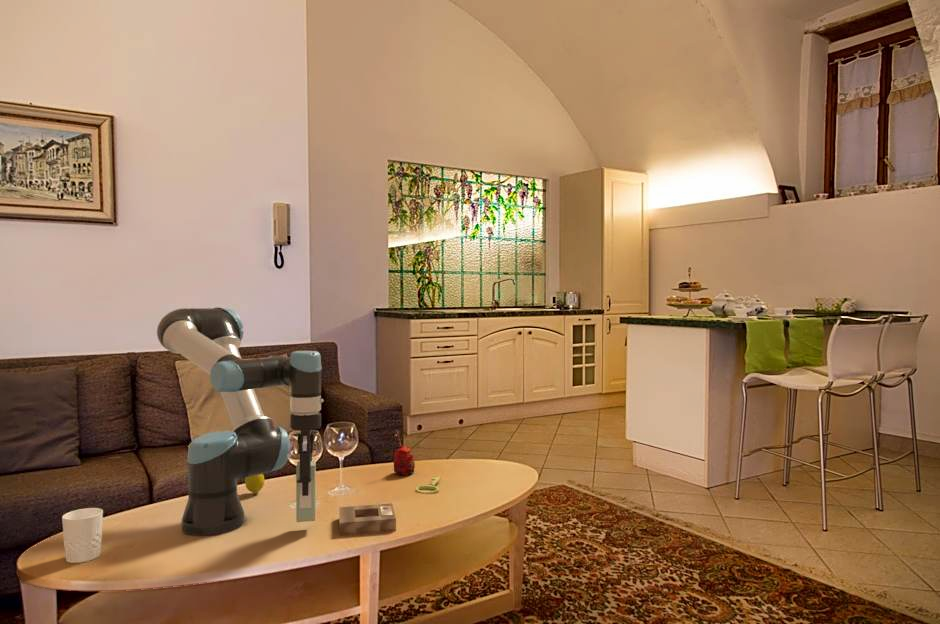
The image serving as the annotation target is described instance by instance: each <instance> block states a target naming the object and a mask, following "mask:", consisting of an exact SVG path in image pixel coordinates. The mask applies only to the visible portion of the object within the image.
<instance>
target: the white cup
mask: <svg viewBox="0 0 940 624" xmlns="http://www.w3.org/2000/svg"><path fill="white" fill-rule="evenodd" d="M61 519H62V521H61V522H62V535H63V546H64V550H65V560H66V562H67V563H69V564H70V563H71V564H79V563H86V562H89V561H92V560H94V559H96V558H98V557H99V556H100V555H101V554H102V539H103V523H104V522H103V519H104V510H103V509H102V508H99V507H86V508H80V509H76V510H71V511H69V512H66V513H64V514H63V515H62V516H61Z"/></svg>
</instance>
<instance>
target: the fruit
mask: <svg viewBox="0 0 940 624" xmlns="http://www.w3.org/2000/svg"><path fill="white" fill-rule="evenodd" d="M265 482H266V481H265V476H264V473H263V474H259V475H255V476H251V477H246V478H244V484H245V488H246V489H247V490H248V491H249V492H251V493H253V495H257V494H258V493H259V492H260V491H261V489H262V488H263V487H264V485H265Z"/></svg>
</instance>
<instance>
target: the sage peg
mask: <svg viewBox="0 0 940 624" xmlns="http://www.w3.org/2000/svg"><path fill="white" fill-rule="evenodd" d="M295 466H296V467H295V469H296V471H295V475H296V477H295V479H296V480H295V481H296V482H295V483H296V485H295V486H296V487H295V492H296V493H295V495H296V497H295V498H296V499H295V505H296V507H295V508H296V509H295V511H296V513H295V517H296V519H295V520H296V521H295V522H296V523H303V522H304V523H306V522H315V521H316V515H317V514H316V511H317V510H316V509H317V508H316V503H317V501H316V500H317V499H316V497H317V495H316V491H317V490H316V487H317V486H316V485H317V484H316V483H317V481H316V476H317V475H316V474H317V473H316V470H317V468H316V466H317V463H316V460H312V461H311V471H310V478H311V508H300V483H297V480H299V479H300V461H297V462H296V465H295Z"/></svg>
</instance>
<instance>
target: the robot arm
mask: <svg viewBox="0 0 940 624" xmlns="http://www.w3.org/2000/svg"><path fill="white" fill-rule="evenodd" d="M243 328H244V326H243V322H242V319H241V317H240V316H239V314H238V313H237V312H236V311H235V310H233V309H231V308H227V307H225V308H223V307H213V308H209V307H208V308H201V307H200V308H198V307H197V308H194V307H193V308H189V307H187V308H178V309H177V308H176V309H174V310H171V311H170V312H169V313H167V314H166V315H164V316H163V317H162V318H161V320H160V321H159V322H158V325H157V328H156V336H157V340H158V341H159V343H160V345H161V346H162V347H163V348H164V349H166V350H168V351H169V352H170V353H172V354H178V355H181V356H182V357H184V358H185V359H186V360H188V361H189V362H191V363H192V364H193V365H195V366H197V367H198V368H200V369H201V370H202V371H204V373H207V374H208V375H209V380H210V384H211V385H212V387H213V389H214V390H215V391H216V392H218V393H220V394H221V397H222V400H223V402H224V406H225V408H226V410H227V413H228V416H229V419H230V422H231V425H232V427H233V429H232V430H220V431H213V432H208V433H206V434H201V435H200V436H198V437H196V438H193V440H192V441H191V442H190V443H189V444H188V447H187V448H188V452H187V459H186V460H187V481H188V486H187V487H188V497H187V498H188V499H187V502H186V505H185V509H184V512H183V515H182V518H181V524H180V527H181V531H182V532H183V533H184V534H186V535H190V536H211V535H218V534H222V533H223V534H224V533H227V532H230V531H233V530H235V529H237V528H240V527H241V526H243V524H245V521H246V520H245V510H244V508H243V504H242V502H241V499H240V497H239V494H238V481H239V480H242V479H246V477H251V476H255V475H259V474H263V475H264V474H269V473H272V472H274V471H277V470H281V469H282V468H283V467H284V466H285V465H286V463H287V461H288V460H289V456H290V451H291V441H290V437H289V434H288V432H287V430H286V429H284V428H283V427H280V426H275V424H274V421H273V419H272V418H271V417H269V416H266V415H264V411H263V410H262V407H261V405H260V402H259V399H258V396H257V394H256V392H255V390H256V389H264V388H272V387H273V388H275V387H282V386H284V387H290V390H289V391H290V396H289V399H290V401H289V404H290V405H289V407H290V408H289V411H290V413H291V414H290V415H289V416H290V428H291V429H292V430H294V431H300V434H297V441H296V442H297V444H298V445H297V446H298V447H297V448H298V451H297V452H298V455H299V462H300V479H299V480H297V483H300V508H311V478H310V471H311V461H313V453H314V451H313V450H314V443H315V433H313V432H312V430H317V429H320V428H321V427H322V413H321V412H320V411H321V410H322V403H324V401H325V400H324V398H322V396H321V395H322V369H323V368H322V367H323V366H322V361H321V360H322V359H321V358H322V356H321V354H320V352H319V351H318V350H317V351H316V350H296V351H292V352H291V353H290V356H283V355H269V356H267V357H263V358H262V357H261V358H251V359H249V358H247V359H243V358H242V357H241V356H242V355H241V353H240V351H239V348H240V346H241V344H242V343H241V342H242V340H243V337H244V329H243Z"/></svg>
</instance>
